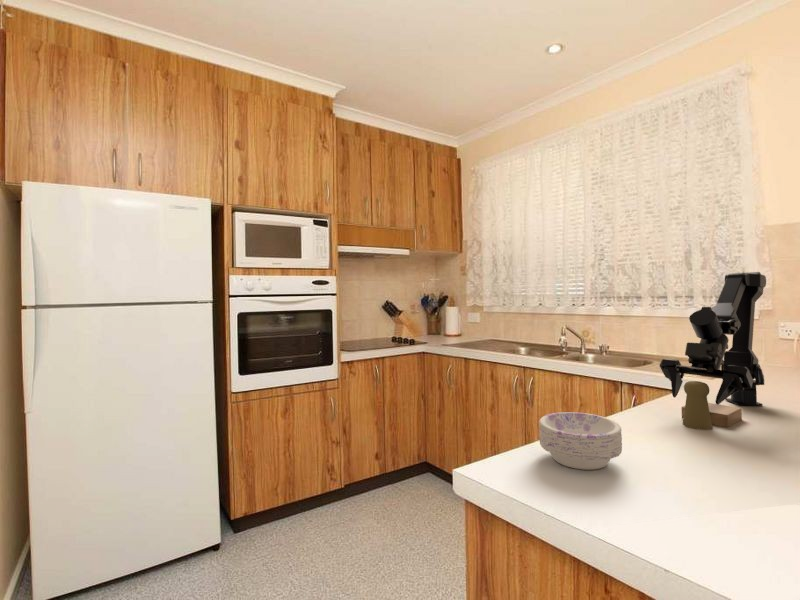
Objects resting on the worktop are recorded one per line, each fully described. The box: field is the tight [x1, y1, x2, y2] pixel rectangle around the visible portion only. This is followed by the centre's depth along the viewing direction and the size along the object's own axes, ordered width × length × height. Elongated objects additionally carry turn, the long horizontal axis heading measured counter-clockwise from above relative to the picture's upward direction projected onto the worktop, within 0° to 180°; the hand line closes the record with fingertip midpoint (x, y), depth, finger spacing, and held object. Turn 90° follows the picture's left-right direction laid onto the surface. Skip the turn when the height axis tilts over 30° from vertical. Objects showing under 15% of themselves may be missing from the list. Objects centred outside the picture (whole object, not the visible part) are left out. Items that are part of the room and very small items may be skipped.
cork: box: [682, 380, 713, 431], centre depth 104 cm, size 6×6×11 cm
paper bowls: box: [538, 411, 623, 471], centre depth 84 cm, size 15×15×8 cm
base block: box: [681, 402, 743, 428], centre depth 109 cm, size 10×10×3 cm
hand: (694, 399), depth 103 cm, fingers open, 9 cm apart
